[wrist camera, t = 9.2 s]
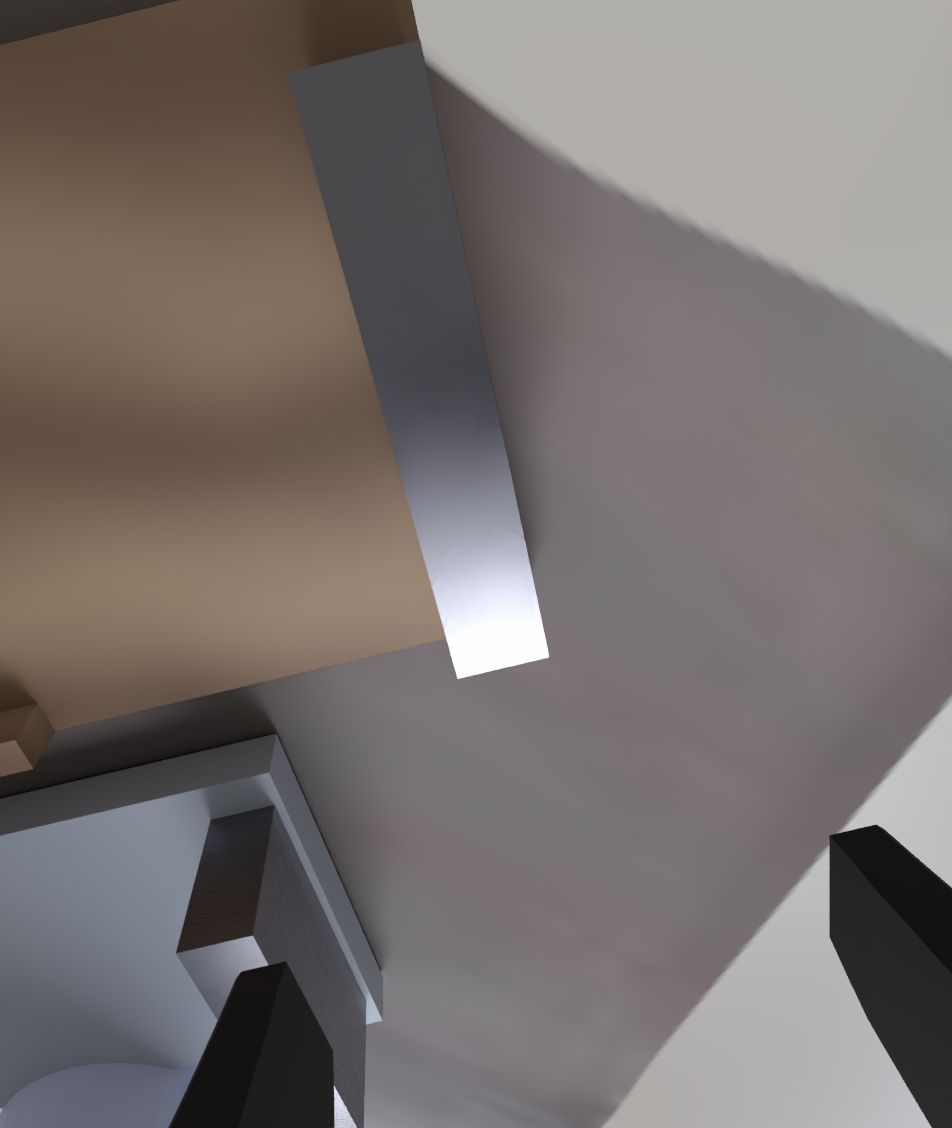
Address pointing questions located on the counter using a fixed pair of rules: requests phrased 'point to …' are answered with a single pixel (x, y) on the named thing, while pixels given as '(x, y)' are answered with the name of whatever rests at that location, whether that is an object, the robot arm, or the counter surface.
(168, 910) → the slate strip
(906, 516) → the counter surface
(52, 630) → the wooden tray
